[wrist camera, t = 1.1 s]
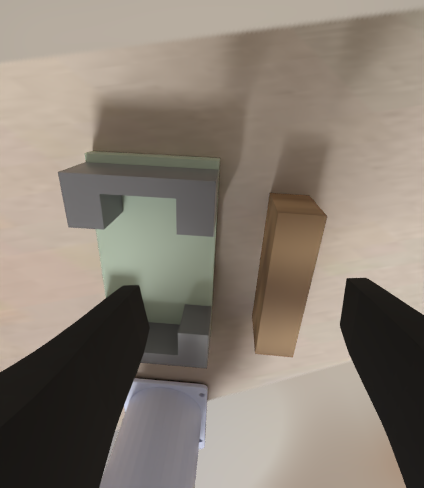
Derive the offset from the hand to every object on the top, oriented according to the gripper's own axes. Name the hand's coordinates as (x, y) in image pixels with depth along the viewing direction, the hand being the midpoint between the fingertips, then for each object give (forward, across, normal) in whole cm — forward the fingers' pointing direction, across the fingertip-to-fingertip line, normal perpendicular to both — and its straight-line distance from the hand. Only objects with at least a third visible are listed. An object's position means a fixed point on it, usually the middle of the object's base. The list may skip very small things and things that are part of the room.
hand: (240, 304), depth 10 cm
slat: (+10, -3, +4) cm, 11 cm away
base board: (+10, +6, +3) cm, 12 cm away
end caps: (+10, +6, +3) cm, 12 cm away
